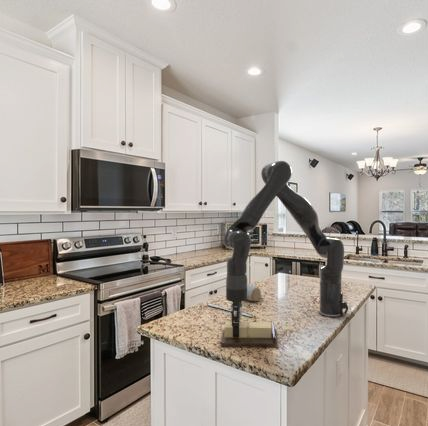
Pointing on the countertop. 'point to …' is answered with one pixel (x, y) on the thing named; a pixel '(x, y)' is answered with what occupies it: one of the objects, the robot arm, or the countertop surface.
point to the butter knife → (226, 309)
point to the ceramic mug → (253, 293)
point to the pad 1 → (242, 329)
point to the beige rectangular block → (260, 330)
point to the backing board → (249, 341)
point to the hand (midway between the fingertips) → (236, 333)
